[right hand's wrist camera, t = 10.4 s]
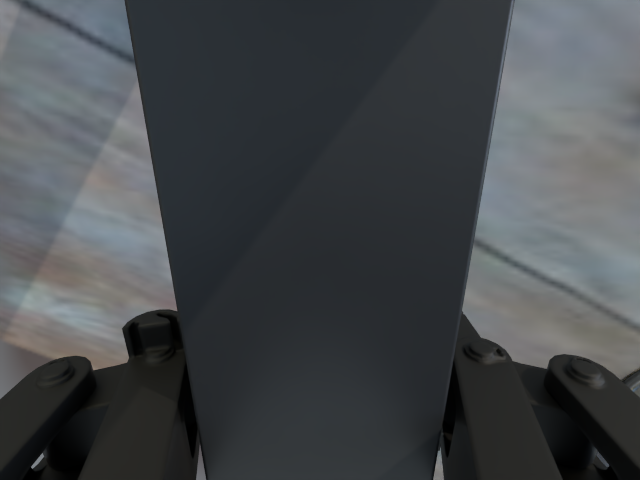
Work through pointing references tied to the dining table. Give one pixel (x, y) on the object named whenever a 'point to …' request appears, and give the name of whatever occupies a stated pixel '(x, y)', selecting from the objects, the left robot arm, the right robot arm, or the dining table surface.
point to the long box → (319, 218)
